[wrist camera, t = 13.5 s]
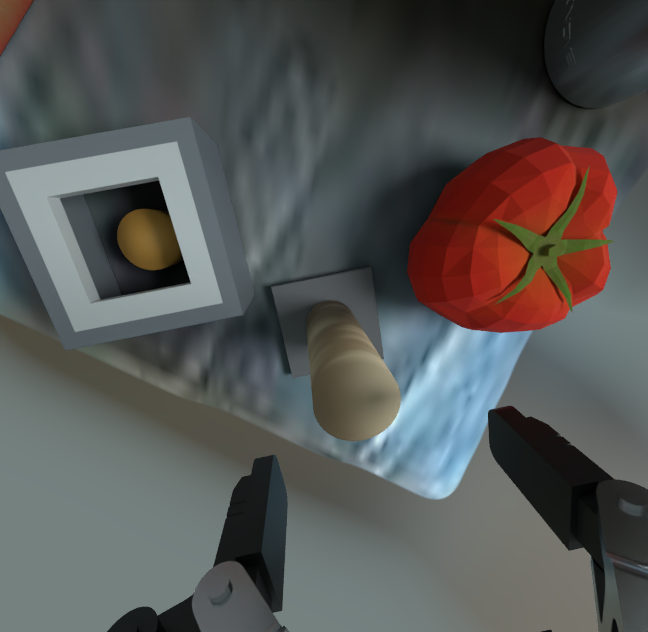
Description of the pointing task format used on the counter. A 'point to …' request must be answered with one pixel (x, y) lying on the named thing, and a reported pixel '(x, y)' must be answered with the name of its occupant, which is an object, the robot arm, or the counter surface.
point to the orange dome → (149, 239)
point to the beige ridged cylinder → (348, 375)
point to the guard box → (85, 244)
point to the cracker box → (11, 18)
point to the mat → (307, 293)
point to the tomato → (516, 238)
